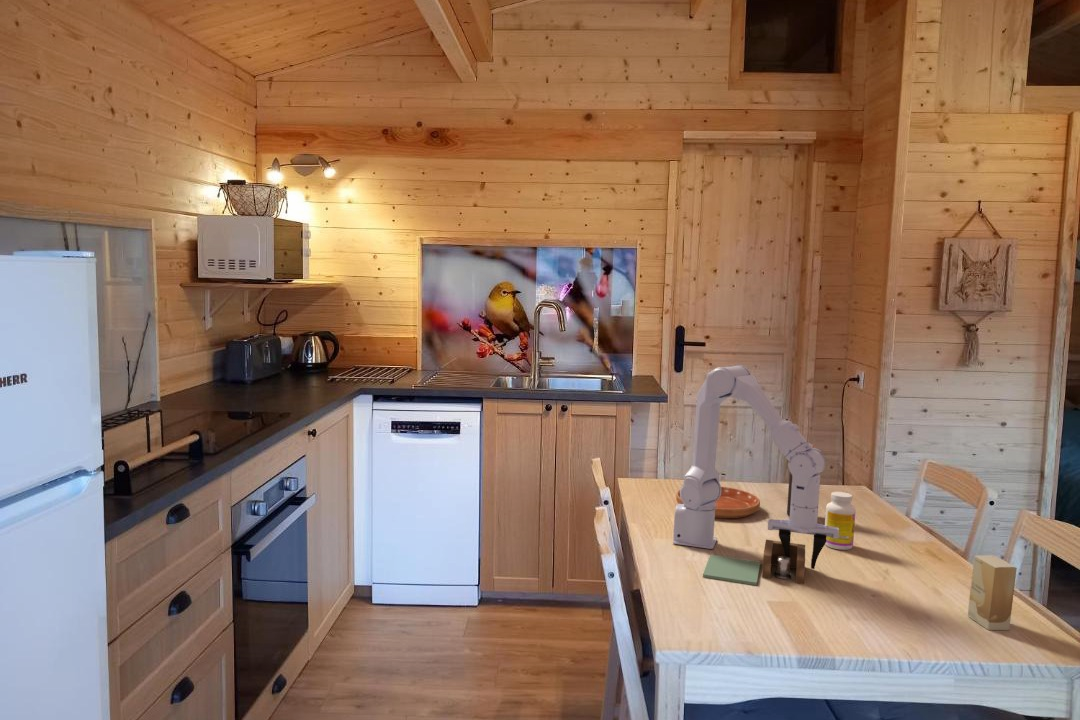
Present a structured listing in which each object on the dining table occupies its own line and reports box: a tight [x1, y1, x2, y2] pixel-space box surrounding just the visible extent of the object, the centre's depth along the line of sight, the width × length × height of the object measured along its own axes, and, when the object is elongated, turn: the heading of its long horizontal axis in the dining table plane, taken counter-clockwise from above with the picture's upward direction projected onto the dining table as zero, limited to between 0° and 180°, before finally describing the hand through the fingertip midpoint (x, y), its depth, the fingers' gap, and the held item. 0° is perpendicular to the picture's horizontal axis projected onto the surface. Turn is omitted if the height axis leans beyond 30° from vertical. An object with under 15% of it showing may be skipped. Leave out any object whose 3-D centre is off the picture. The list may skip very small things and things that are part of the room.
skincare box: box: [967, 554, 1017, 631], centre depth 140 cm, size 6×4×12 cm
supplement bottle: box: [824, 491, 856, 551], centre depth 181 cm, size 7×7×13 cm
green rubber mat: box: [702, 554, 761, 586], centre depth 163 cm, size 11×13×1 cm
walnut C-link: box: [761, 539, 806, 585], centre depth 163 cm, size 8×11×5 cm
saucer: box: [675, 486, 761, 519], centre depth 210 cm, size 23×23×4 cm
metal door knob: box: [774, 556, 792, 581], centre depth 160 cm, size 3×3×4 cm
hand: (800, 565), depth 163 cm, fingers open, 4 cm apart
